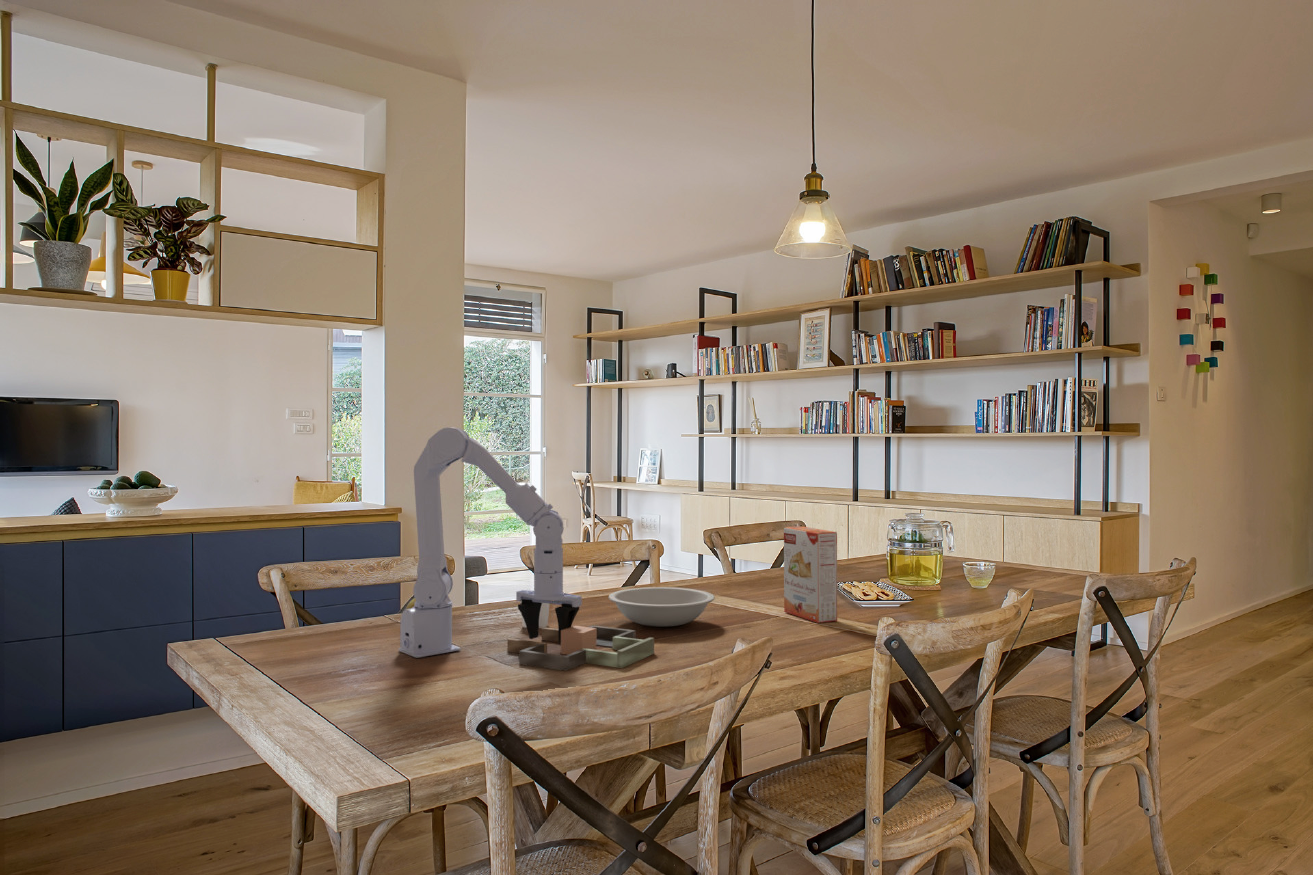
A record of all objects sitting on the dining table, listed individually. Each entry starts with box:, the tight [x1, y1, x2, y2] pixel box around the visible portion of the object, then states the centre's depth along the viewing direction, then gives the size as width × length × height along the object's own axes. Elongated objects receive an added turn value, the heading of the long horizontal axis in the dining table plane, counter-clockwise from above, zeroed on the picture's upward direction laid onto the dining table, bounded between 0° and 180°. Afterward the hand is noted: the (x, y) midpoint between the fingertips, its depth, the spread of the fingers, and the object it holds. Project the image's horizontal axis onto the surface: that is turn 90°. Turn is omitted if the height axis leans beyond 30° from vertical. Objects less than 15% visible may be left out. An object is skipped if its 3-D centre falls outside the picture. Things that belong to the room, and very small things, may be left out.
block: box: [560, 625, 597, 655], centre depth 165 cm, size 5×5×4 cm
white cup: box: [519, 601, 551, 629], centre depth 189 cm, size 7×7×7 cm
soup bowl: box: [608, 586, 716, 628], centre depth 191 cm, size 24×24×7 cm
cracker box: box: [783, 525, 838, 624], centre depth 200 cm, size 14×6×21 cm, turn 25°
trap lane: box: [506, 625, 655, 672], centre depth 165 cm, size 26×25×3 cm
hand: (548, 639), depth 168 cm, fingers open, 7 cm apart
